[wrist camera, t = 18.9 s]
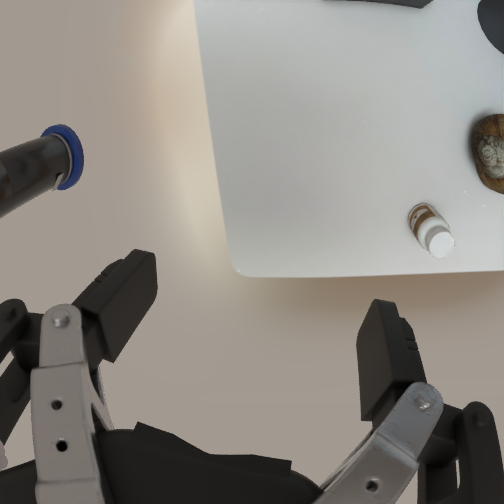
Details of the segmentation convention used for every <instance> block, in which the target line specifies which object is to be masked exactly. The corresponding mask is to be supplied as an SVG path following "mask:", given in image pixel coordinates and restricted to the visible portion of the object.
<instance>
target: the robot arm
mask: <svg viewBox="0 0 504 504" xmlns="http://www.w3.org/2000/svg"><path fill="white" fill-rule="evenodd" d="M73 169H74V154H73V150H72V147H71V145H70V143H69V141H68V140H67V139H66V138H65V137H64V136H63V135H62V134H60V133H51V134H48V135H46V136H44V137H40V138H37V139H34V140H31V141H28V142H26V143H23V144H20V145H17V146H15V147H12V148H10V149H7V150H4V151H2V152H0V218H2V217H3V216H5V215H6V214H8V213H10V212H11V211H13V210H15V209H16V208H18V207H20V206H21V205H23V204H25V203H26V202H28V201H30V200H32V199H33V198H35V197H37V196H39V195H41V194H42V193H44V192H46V191H48V190H50V189H52V188H53V190H52V191H54V190H56V189H57V187H58V185H61V184H63V183H65V182H66V181H68V180H69V178H70V177H71V175H72V172H73ZM157 289H158V285H157V272H156V258H155V255H154V253H151V252H147V251H142V250H137V249H134V250H133V251H131V252H130V254H129V255H128V256H127V257H126V258H125V259H124V260H123V259H119V260H117V261H116V262H113V263H111V264H110V265H108V266H107V267H106V268H105V269H104V270H103V271H102V272H101V275H99V276H98V277H96V278H95V280H94V281H93V282H92V283H91V284H90V285H89V286H88V287H87V288H86V289H85V290H84V291H83V292H82V293H81V294H80V295H79V296H78V297H77V299H76V300H75V301H74V302H73V303H72V304H71V305H70V304H59V305H56V306H54V307H52V308H50V309H49V310H48V311H47V312H46V313H45V314H39V313H29V312H28V311H27V308H26V306H25V303H24V302H23V301H22V300H19V299H10V300H6V301H4V302H3V303H1V304H0V363H1V362H2V361H3V359H4V358H5V357H6V355H7V354H8V352H9V351H11V353H12V354H13V356H14V359H13V360H12V361H11V363H10V364H9V365H8V367H7V369H6V370H5V371H4V373H3V374H2V376H1V377H0V504H395V503H396V501H397V500H398V498H399V497H400V496H401V494H402V493H403V491H404V490H405V488H406V487H407V485H408V484H409V482H410V481H411V479H412V478H413V476H414V474H415V473H416V471H417V470H418V499H417V504H504V470H503V464H502V457H501V451H500V445H499V440H498V434H497V430H496V425H495V421H494V417H493V414H492V412H491V411H490V409H489V408H488V407H487V406H486V405H485V404H483V403H481V402H477V401H475V402H471V403H469V404H468V405H467V406H466V407H465V408H464V409H463V410H461V409H459V408H456V407H452V406H450V405H447V404H444V403H443V399H442V397H441V394H440V393H439V391H437V389H436V388H434V387H433V386H432V385H430V384H427V381H426V377H425V373H424V369H423V365H422V361H421V357H420V354H419V351H418V347H417V343H416V342H415V336H414V333H413V330H412V328H411V326H410V325H409V324H408V322H407V321H406V319H405V318H401V317H399V314H398V310H397V307H396V304H395V303H394V302H389V301H384V300H379V299H374V300H373V302H372V303H371V306H370V308H369V310H368V312H367V315H366V317H365V319H364V321H363V323H362V325H361V327H360V330H359V332H358V336H357V342H356V348H357V359H358V371H359V386H360V402H361V421H372V424H373V425H372V426H373V428H372V429H371V430H370V431H369V433H368V434H367V435H366V436H365V438H364V439H363V440H362V441H361V442H360V443H359V445H358V446H357V447H356V448H355V449H354V451H352V453H351V454H350V455H349V456H348V457H347V458H346V459H345V460H344V462H343V463H342V464H341V465H340V466H339V467H338V468H337V469H336V470H335V471H334V472H333V473H332V474H331V475H329V476H328V477H327V478H326V479H325V480H324V481H323V482H322V483H321V484H320V485H319V486H318V485H316V484H315V483H314V482H313V481H311V480H310V479H308V478H307V477H305V476H304V475H302V474H300V473H298V472H296V471H293V470H291V463H292V461H290V460H283V459H276V458H270V457H264V456H258V455H252V454H251V455H215V454H208V453H206V452H204V451H202V450H200V449H198V448H196V447H195V446H193V445H191V444H189V443H187V442H186V441H184V440H182V439H181V438H179V437H177V436H176V435H174V434H172V433H169V432H165V431H162V430H160V429H156V428H154V427H151V426H148V425H146V424H143V423H140V422H137V424H136V426H135V428H134V430H132V429H114V426H113V424H112V421H111V419H110V416H109V413H108V409H107V404H106V399H105V394H104V389H103V383H102V378H101V372H100V367H99V364H100V362H101V361H102V359H105V360H107V361H109V362H112V363H114V362H115V360H116V358H117V357H118V356H119V354H120V352H121V351H122V349H123V348H124V346H125V345H126V343H127V342H128V340H129V339H130V337H131V335H132V334H133V332H134V331H135V329H136V328H137V326H138V325H139V323H140V322H141V320H142V319H143V317H144V316H145V314H146V313H147V311H148V310H149V308H150V307H151V305H152V304H153V302H154V301H155V298H156V295H157ZM30 399H31V421H32V434H33V445H34V454H35V459H34V460H32V461H29V462H26V463H23V464H20V465H18V466H15V467H12V468H9V469H6V470H2V469H3V468H5V467H6V466H7V464H8V460H7V458H6V456H5V450H4V445H5V443H6V441H7V439H8V437H9V435H10V434H11V432H12V430H13V428H14V426H15V425H16V423H17V421H18V419H19V417H20V416H21V414H22V412H23V411H24V409H25V407H26V405H27V404H28V402H29V401H30ZM457 459H458V460H459V472H460V485H459V488H458V490H457V472H456V460H457Z"/></svg>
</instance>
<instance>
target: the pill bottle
mask: <svg viewBox="0 0 504 504" xmlns="http://www.w3.org/2000/svg"><path fill="white" fill-rule="evenodd" d="M408 223H409V227H410V229H411V230H412V232H413V234H414V235H415V237H416V239H417V240H418V242H419V244H420V245H421V246H422V248H424V249H425V250H427V251H429V252H430V254H431V255H432V256H433V257H434V258H437V259H443V258H445V257H447V256H449V255H450V254H451V252H452V251H453V249H454V246H455V239H454V237H453V235H452V234H451V232H450V227H449V225H448V223H447V222H446V221H445V220H444V219H443V218H442V216H441V215H440V214H439V213H438V212H437V211H436V210H435V209H434V207H432V206H431V205H429V204H420V205H417V206H416V207H414V208H413V209H412V211H411V212H410V215H409V218H408Z"/></svg>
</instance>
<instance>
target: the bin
mask: <svg viewBox="0 0 504 504" xmlns="http://www.w3.org/2000/svg"><path fill="white" fill-rule="evenodd" d="M349 1H367V2H379V3H388V4H396V5H404V6H410V7H416V8H423V7H424V6H426V5H427V4H429V3H430V2H431V1H433V0H349Z"/></svg>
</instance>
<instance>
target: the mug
mask: <svg viewBox="0 0 504 504" xmlns="http://www.w3.org/2000/svg"><path fill="white" fill-rule="evenodd" d="M477 12H478V19H479V22H480V25H481V27H482V30H483V31H484V33H485V35H486V37H487V38H488V40H489V41H490V42H491V43H492V44H493V45H494V47H495V48H497V49H498V50H499V51H500V52H502V53H503V54H504V0H481V1H480V3H479V4H478V10H477Z"/></svg>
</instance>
